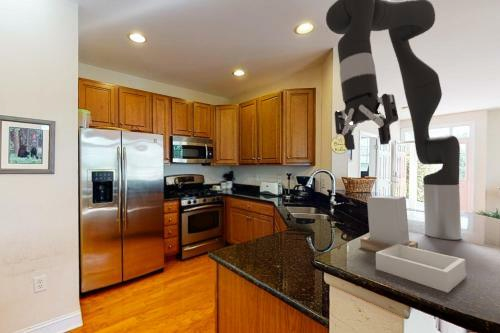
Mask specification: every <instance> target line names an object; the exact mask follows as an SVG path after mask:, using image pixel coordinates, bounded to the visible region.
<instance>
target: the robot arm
mask: <svg viewBox="0 0 500 333" xmlns="http://www.w3.org/2000/svg"><path fill="white" fill-rule="evenodd" d="M435 21H436V11H435V8H434V6H433V4H432V2H431V1H429V0H336V1H335V2H334V3H332V4H331V6H329V8H328V10H327V12H326V15H325V23H326V26H327V28H328V29H329V30H330V31H331V32H332V33H335V34H337V35H342V37H341V38H339V40H338V42H337V53H338V60H339V61H338V62H339V78H340V79H339V80H340V88H341V95H342V101H343V103H344V105H345V106H344V107H345V108H344V109H342V110H335V112H334V124H335V134H336V135H340V136H341V135H342V136H343V139H344V147H345V148H346V150H347V151H352V150H356V146H355V139H354V134H353V133H354V131H355V129H356V127H358V125H359V124H361V123H364V122H367V121H372V122H374V123H375V124H377V125H378V128H377V129H378V138H379V144H380V145H388V144H390V141H392V140H391V136H392V135H391V130H390V129H391V128H390V126H391V124H394V123H395V122H398V120H399V115H398V110H397V103H396V99H395V95H394V94H393V93H383V94H382V95H381V96H380V97H379V96H378V94H379V88H378V81H377V74H376V64H375V61H374V58H373V52H372V45H371V44H372V43H371V33H372V32H382V31H387V32H388V35H389V40H390V42H391V45H392V48H393V51H394V53H395V57H396V61H397V63H398V67H399V71H400V76H401V79H402V85H403V90H404V91H403V92H404V95H405V99H406V102H407V103H406V104H407V106H408V107H407V108H408V110H409V114H410V119H411V123H412V131H413V137H414V138H413V139H414V147H415V153H416V157H417V159H418V160H419V162H420V164H422V165H442V166H441V168H440V169H439V170H437V171H436V172H433V173H429V174H425V175H424V177H423V178H422V181H423V182H422V183H423V206H424V207H423V208H424V211H423V212H424V234H425V235H426V236H427V237H431V238H436V239H441V240H451V241H452V240H454V241H455V240H461V239H462V227H461V226H462V224H461V223H462V222H461V219H462V218H461V201H460V200H461V198H460V197H461V196H460V193H461V192H460V161H461V160H460V158H461V157H460V156H461V147H460V142H459V139H458V137H456V136H455V135H443V136H435V137H434V136H433V137H431V136H430V134H429V133H430V132H429V130H430V129H429V128H430V127H429V126H430V124H431V120H432V118H433V116H434V114H435V112H436V111H437V109H438V106H439V104H440V102H441V100H442V98H443V97H442V96H443V92H442V87H441V83H440V77H439V75H438V72H436V70H435V69H433V67H431V66H430V65H428V64H427V63H426V62H424V61H423V60H422V59H420V58H419V57H418V56H417V55H416V53H414V51H413V49H412V47H411V45H410V40H411V39H414V38H416V37H418V36H419V35H423V34H424V33H426V32H428V31H429V30H430V29H432V27H434V24H435ZM380 106H382V107H383V110H384V111H383V112H384V114H383V113H382V112H381V111H379V110H378V109H379V108H380Z"/></svg>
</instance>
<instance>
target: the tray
mask: <svg viewBox="0 0 500 333" xmlns="http://www.w3.org/2000/svg"><path fill="white" fill-rule="evenodd" d="M375 269H376V270H377V271H381V272H385V273H388V274H389V275H394V276H397V277H399V278H402V279H404V280H405V279H406V280H409V281H412V282H414V283H417V284H420V285H422V286H425V287H430V288H432V289H435V290H438V291H441V292H444V293H447V294H449V292H451V291H452V290H453V289H454V288H455V287H456V286H457V285H458V284H459V283H461V282H462V281H463V280H465V279H466V278H467V275H466V272H467V271H466V270H467V269H466V259H464V258H460V257H456V256H452V255H447V254H443V253H438V252H434V251H430V250H427V249H421V248H418V249H417V248H413V247H409V246H404V245H400V244H397V245H394V246H391V247H389V248H386V249H384V250H381V251H378V252H376V251H375Z"/></svg>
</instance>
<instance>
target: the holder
mask: <svg viewBox="0 0 500 333" xmlns="http://www.w3.org/2000/svg"><path fill="white" fill-rule="evenodd" d="M359 240H360V248H361V249H365V250H369V251H373V252H375V253H376V252H378V251H381V250H384V249H386V248H389V247H391V246H394V245H390V244H385V243H381V242H377V241H373V240H370V235H367V236H365V237H361V238H360V239H359ZM404 246H409V247H413V248H417V249H419V242H418V241H413V240H409V244H406V245H404Z"/></svg>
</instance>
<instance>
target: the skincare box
mask: <svg viewBox="0 0 500 333" xmlns="http://www.w3.org/2000/svg"><path fill="white" fill-rule="evenodd" d="M406 198H407V197H406V196H400V195H399V196H396V195H395V196H393V195H373V196H368V197H366V202H367V205H366V206H367V218H368V220H367V221H368V229H369V231H368V233H369V236H370V240H373V241H377V242H381V243H385V244H390V245H397V244H400V245H406V244H409V241H410V234H409V222H408V220H409V219H408V210H407V199H406Z"/></svg>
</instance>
